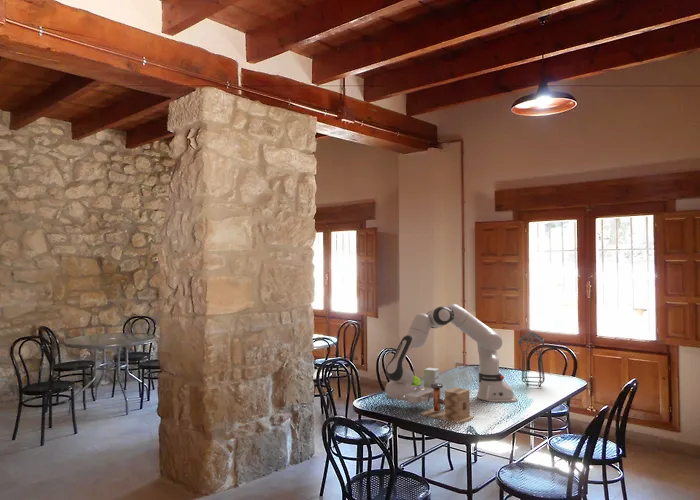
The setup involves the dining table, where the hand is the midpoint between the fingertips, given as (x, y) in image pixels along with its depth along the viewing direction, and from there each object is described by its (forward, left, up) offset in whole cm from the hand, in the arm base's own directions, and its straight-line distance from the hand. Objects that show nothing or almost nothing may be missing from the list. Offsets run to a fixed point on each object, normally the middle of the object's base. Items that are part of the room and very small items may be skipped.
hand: (433, 398), depth 264 cm
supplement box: (+4, -53, -8) cm, 54 cm away
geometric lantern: (-58, -73, -8) cm, 94 cm away
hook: (-7, +4, -6) cm, 10 cm away
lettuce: (+16, -39, -8) cm, 43 cm away
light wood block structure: (-7, +4, -8) cm, 11 cm away
